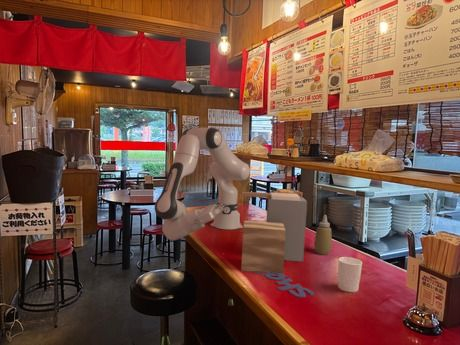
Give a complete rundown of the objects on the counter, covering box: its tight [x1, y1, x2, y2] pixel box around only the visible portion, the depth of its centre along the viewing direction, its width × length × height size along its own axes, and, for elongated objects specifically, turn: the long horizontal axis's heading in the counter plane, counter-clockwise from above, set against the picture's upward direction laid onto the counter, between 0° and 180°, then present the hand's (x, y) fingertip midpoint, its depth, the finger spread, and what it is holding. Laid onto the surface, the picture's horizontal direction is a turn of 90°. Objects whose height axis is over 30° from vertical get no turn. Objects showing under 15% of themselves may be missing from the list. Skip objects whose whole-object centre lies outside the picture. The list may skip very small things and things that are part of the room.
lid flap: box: [240, 191, 301, 201], centre depth 149 cm, size 10×25×2 cm, turn 86°
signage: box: [252, 271, 316, 299], centre depth 122 cm, size 28×1×10 cm
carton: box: [265, 196, 308, 262], centre depth 150 cm, size 12×16×26 cm
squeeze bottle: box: [313, 214, 333, 256], centre depth 157 cm, size 8×8×18 cm
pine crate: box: [240, 220, 286, 274], centre depth 135 cm, size 12×16×17 cm
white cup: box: [337, 256, 363, 293], centre depth 118 cm, size 8×8×10 cm
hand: (223, 206), depth 151 cm, fingers open, 8 cm apart
